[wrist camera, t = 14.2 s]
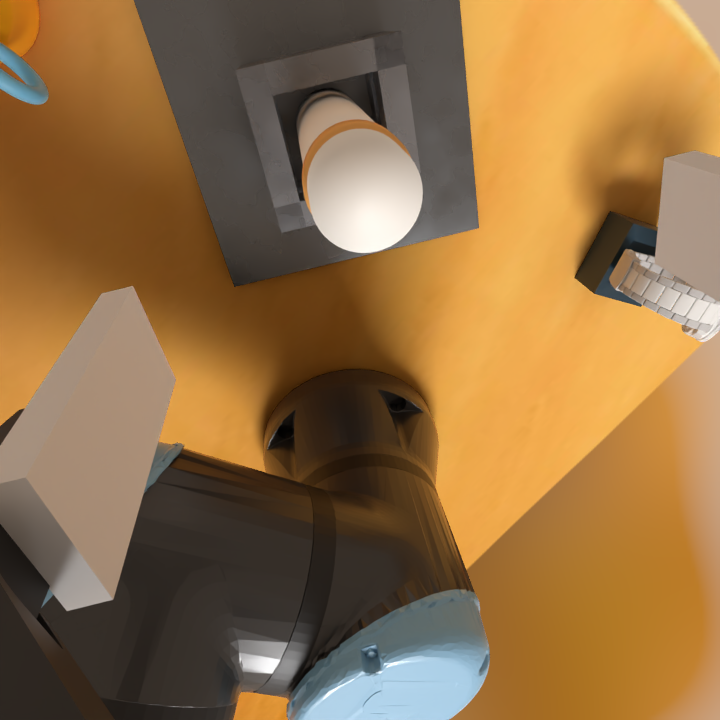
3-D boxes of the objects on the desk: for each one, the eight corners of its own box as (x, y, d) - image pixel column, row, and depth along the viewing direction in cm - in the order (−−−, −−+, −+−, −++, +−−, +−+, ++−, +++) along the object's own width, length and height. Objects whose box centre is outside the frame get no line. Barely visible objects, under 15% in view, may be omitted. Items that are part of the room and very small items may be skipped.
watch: (638, 295, 45) (733, 364, 36) (555, 272, 43) (633, 338, 34) (677, 231, 43) (789, 287, 33) (591, 203, 41) (686, 254, 31)
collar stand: (474, 223, 40) (506, 254, 35) (235, 281, 40) (228, 321, 35) (447, -85, 31) (484, -110, 25) (133, -11, 31) (102, -20, 25)
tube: (367, 150, 36) (434, 241, 20) (303, 166, 36) (321, 268, 20) (354, 78, 33) (417, 118, 18) (285, 94, 33) (290, 149, 18)
